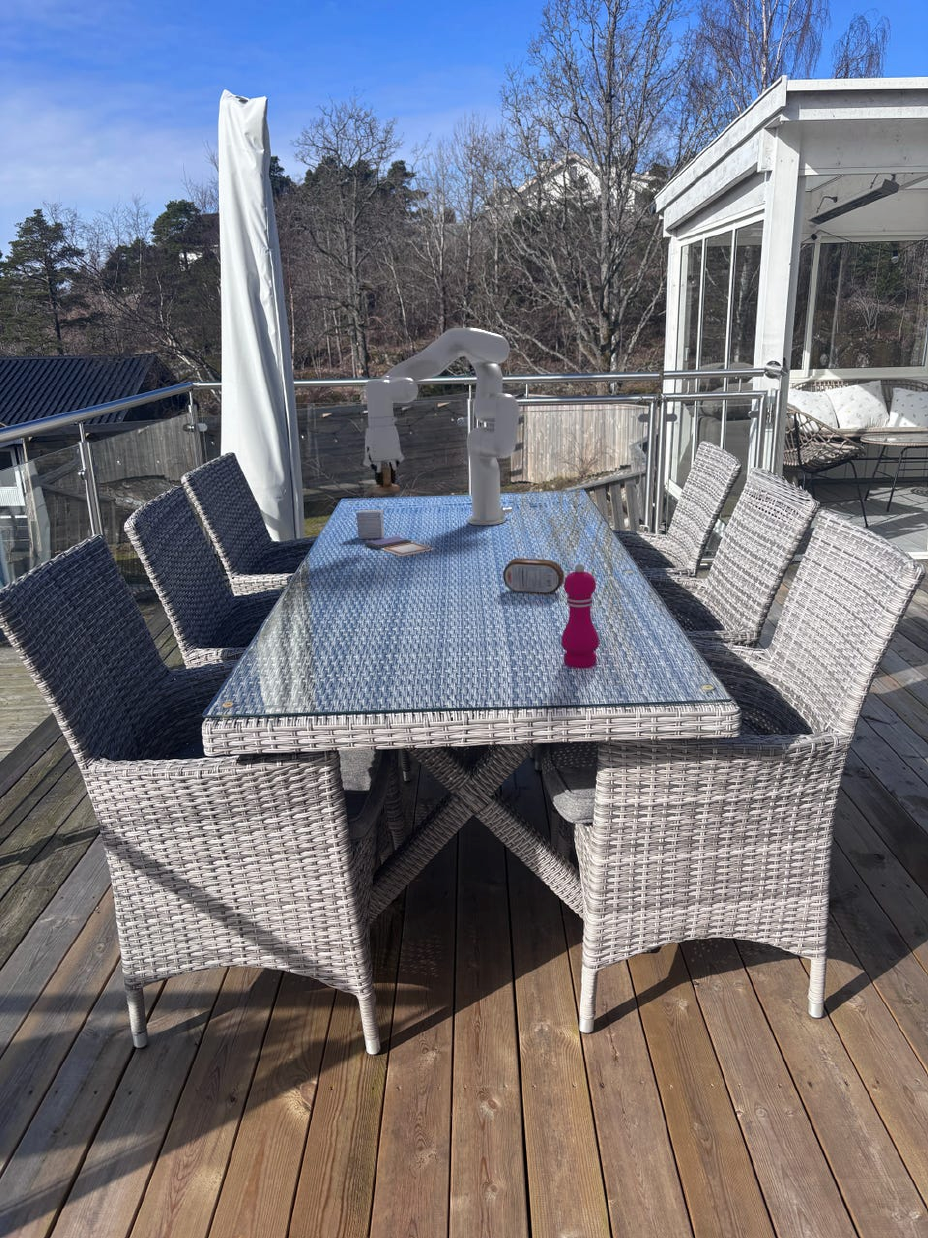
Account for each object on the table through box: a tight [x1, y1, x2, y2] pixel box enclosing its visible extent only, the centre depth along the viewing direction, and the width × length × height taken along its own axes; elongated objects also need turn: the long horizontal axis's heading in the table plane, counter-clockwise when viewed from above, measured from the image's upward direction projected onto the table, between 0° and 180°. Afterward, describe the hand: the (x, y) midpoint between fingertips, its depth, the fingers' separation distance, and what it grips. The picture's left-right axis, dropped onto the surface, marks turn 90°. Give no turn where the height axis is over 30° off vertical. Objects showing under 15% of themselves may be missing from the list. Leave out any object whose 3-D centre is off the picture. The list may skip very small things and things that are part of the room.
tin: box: [502, 557, 565, 595], centre depth 219 cm, size 15×3×8 cm, turn 71°
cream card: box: [380, 541, 435, 558], centre depth 269 cm, size 12×12×1 cm
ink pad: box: [364, 535, 412, 551], centre depth 277 cm, size 12×8×1 cm, turn 124°
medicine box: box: [355, 509, 386, 540], centre depth 286 cm, size 8×4×9 cm, turn 84°
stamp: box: [372, 466, 401, 497], centre depth 270 cm, size 6×6×8 cm
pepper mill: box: [560, 563, 600, 669], centre depth 171 cm, size 7×7×20 cm
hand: (385, 483), depth 270 cm, fingers closed on stamp, 3 cm apart
